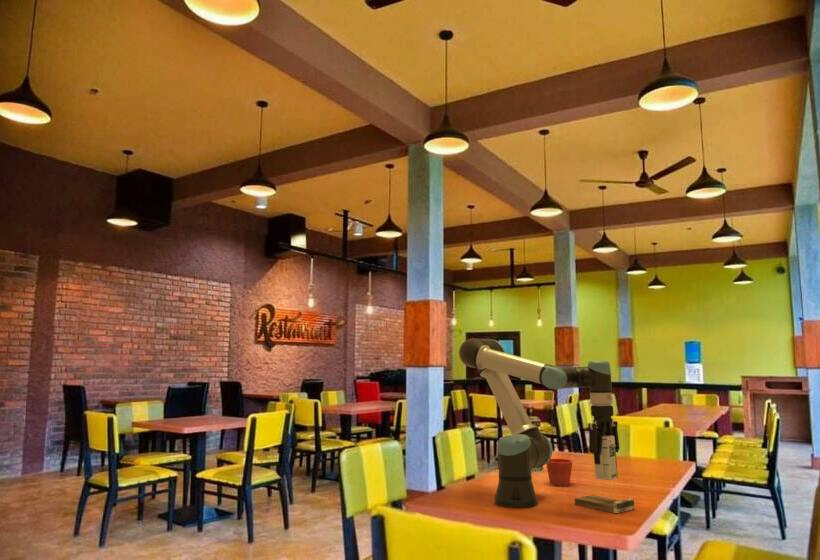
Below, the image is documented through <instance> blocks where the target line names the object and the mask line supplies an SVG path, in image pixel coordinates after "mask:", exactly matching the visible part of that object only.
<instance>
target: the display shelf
mask: <svg viewBox="0 0 820 560" xmlns="http://www.w3.org/2000/svg"><path fill="white" fill-rule="evenodd" d="M574 505H576V506H581V507H584V508H589V509H593V508H594V509H593V510H597V509H599V510H598V511H602V510H603V511H602V512H606V511H607V513H611V512H612V513H611V514H615V513H618V514H621V513H620V512H622V513H625V512H624V511H626V512H630V511H633V510H632V509H634V510H635V508H636V507H635V498H633V497H631V498H630V497H629V498H626V499H616V498H610V497H605V496H600V495H596V494H590V495H585V496H580V497H575V498H574ZM629 510H630V511H629Z"/></svg>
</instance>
